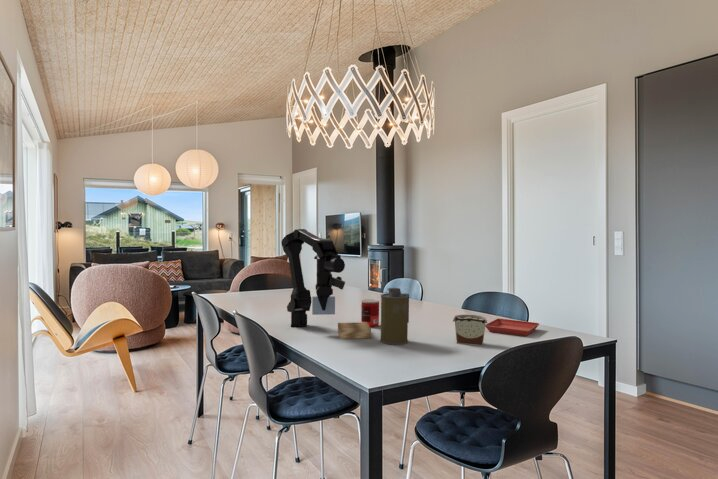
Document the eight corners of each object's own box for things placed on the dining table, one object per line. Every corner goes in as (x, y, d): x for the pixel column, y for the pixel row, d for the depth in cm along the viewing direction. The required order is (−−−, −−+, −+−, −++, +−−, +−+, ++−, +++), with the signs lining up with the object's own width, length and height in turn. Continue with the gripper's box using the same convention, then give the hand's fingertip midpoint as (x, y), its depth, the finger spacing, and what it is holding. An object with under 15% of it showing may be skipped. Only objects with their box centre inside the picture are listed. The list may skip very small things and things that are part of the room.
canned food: (379, 324, 210) (379, 299, 209) (378, 327, 202) (378, 301, 201) (362, 323, 210) (362, 298, 210) (360, 327, 202) (360, 301, 202)
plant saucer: (528, 338, 185) (528, 330, 185) (483, 332, 195) (483, 324, 195) (539, 330, 200) (539, 323, 200) (497, 325, 210) (497, 318, 210)
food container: (488, 342, 177) (488, 315, 177) (487, 346, 171) (487, 318, 171) (454, 339, 181) (455, 313, 181) (452, 343, 175) (453, 316, 175)
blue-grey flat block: (312, 314, 188) (312, 297, 188) (312, 313, 190) (312, 296, 190) (334, 314, 189) (335, 296, 189) (334, 313, 191) (334, 296, 191)
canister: (388, 346, 170) (389, 290, 169) (375, 339, 179) (375, 287, 179) (414, 343, 174) (415, 289, 174) (400, 337, 184) (400, 286, 183)
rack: (340, 338, 180) (340, 328, 180) (337, 331, 192) (337, 322, 192) (371, 338, 182) (371, 328, 182) (366, 331, 194) (367, 322, 194)
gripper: (346, 273, 181) (345, 313, 181) (342, 269, 199) (341, 306, 199) (316, 273, 179) (316, 314, 180) (315, 269, 198) (315, 306, 198)
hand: (323, 309), depth 189 cm, fingers closed on blue-grey flat block, 2 cm apart
